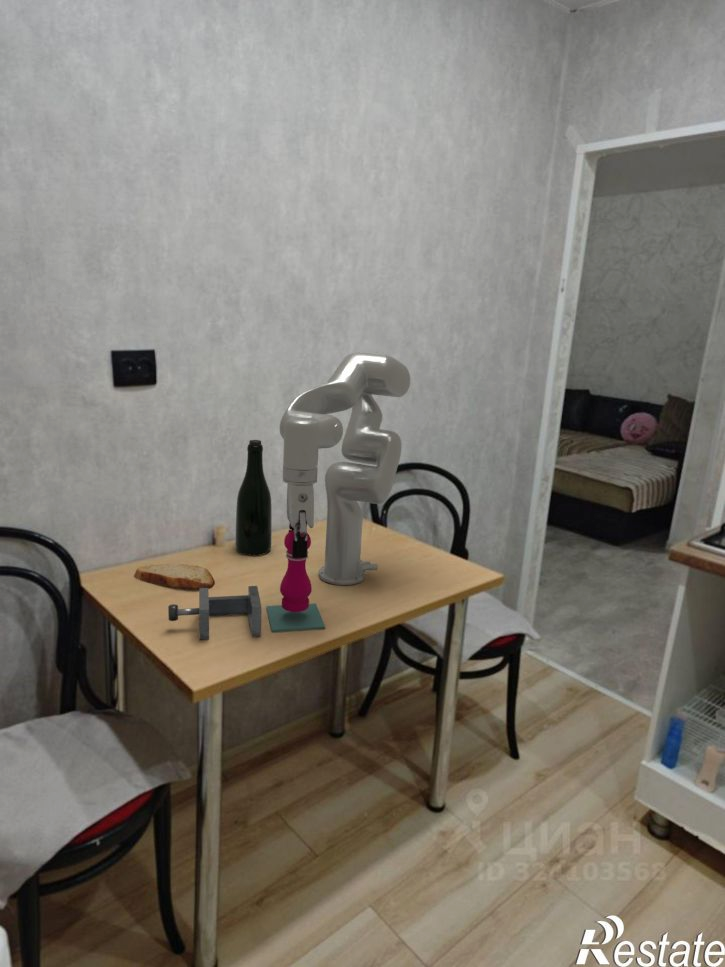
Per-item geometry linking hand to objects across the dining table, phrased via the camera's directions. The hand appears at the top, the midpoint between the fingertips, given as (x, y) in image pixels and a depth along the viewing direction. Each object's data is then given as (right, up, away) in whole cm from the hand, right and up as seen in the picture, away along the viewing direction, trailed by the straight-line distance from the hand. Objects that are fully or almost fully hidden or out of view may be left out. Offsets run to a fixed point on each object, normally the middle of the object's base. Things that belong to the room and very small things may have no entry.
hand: (297, 551), depth 145 cm
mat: (-1, -16, +4) cm, 17 cm away
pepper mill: (-1, -13, +3) cm, 14 cm away
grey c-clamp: (-18, -16, -1) cm, 25 cm away
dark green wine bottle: (-18, -5, +45) cm, 48 cm away
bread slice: (-34, -10, +21) cm, 41 cm away
